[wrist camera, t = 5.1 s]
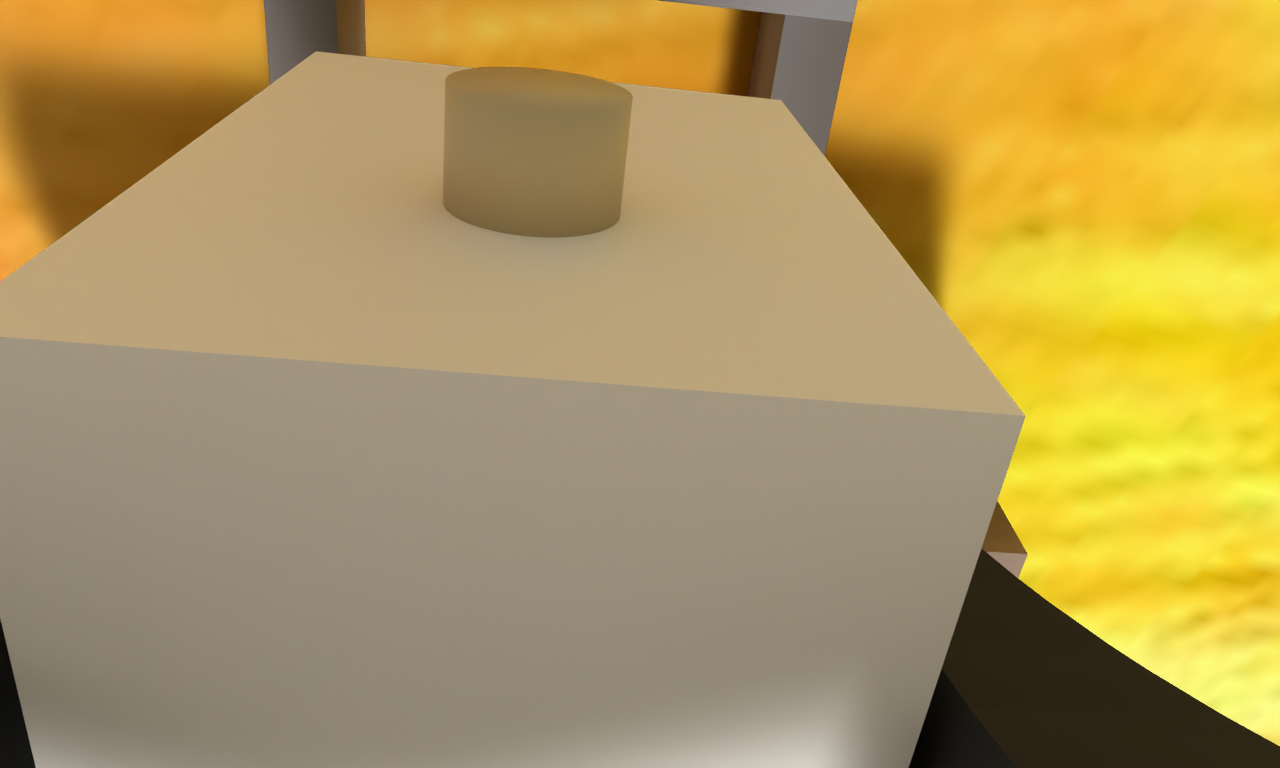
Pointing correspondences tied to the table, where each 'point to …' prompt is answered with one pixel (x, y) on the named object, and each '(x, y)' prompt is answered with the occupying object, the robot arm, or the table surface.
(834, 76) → the board
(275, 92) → the cabinet block
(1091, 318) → the table surface
